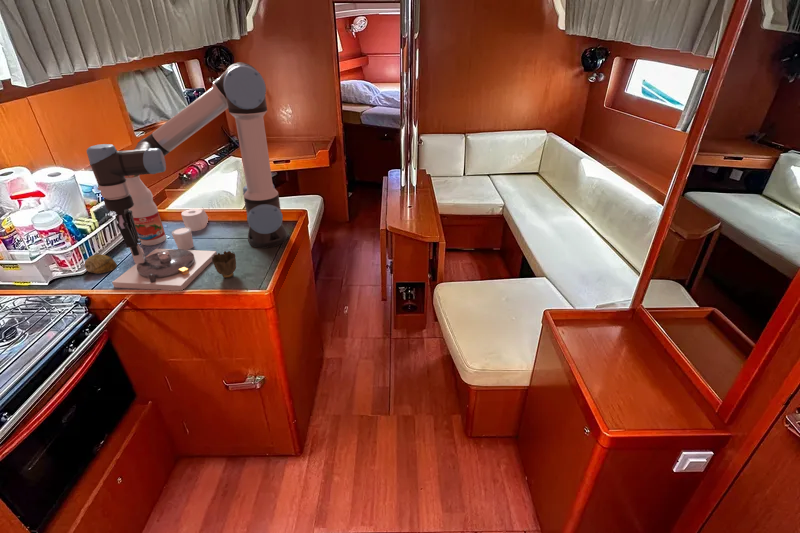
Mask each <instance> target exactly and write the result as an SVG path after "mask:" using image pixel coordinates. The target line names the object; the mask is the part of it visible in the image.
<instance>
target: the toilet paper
mask: <svg viewBox="0 0 800 533" xmlns="http://www.w3.org/2000/svg"><path fill="white" fill-rule="evenodd" d="M180 214H181V218H182V222H183V224H184V227H187V228H190V229H191V232H196V231H197V232H198V231H201V230H204V229H206V227H207V226H208V224H207V223H209V222H208V218H209V216H208V214H207V213H206V211H205V209H204V207H203V206H202V209H201V208H190V209H186V210H183V211H182V212H181V213H180Z"/></svg>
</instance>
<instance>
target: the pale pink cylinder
mask: <svg viewBox="0 0 800 533" xmlns="http://www.w3.org/2000/svg"><path fill="white" fill-rule="evenodd" d="M171 235H172V237H173V240H174V242H175V244H176V246H177V249H182V250H192V248H194V247H195V246H194V240H193V235H192V231H191V229H190V228H187V227H185V226H184V227H178V228H175V229H174V230H172V231H171Z"/></svg>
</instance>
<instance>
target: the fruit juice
mask: <svg viewBox="0 0 800 533" xmlns="http://www.w3.org/2000/svg"><path fill="white" fill-rule="evenodd" d="M140 176H141V175H132V176H125V179H126V181H127V184H128V187H129V190H130V193H129V194H130V195H131V197H132V200H133V203H134V206H133V207H131V208H130V209H129V210H131V211H132V215H133V219H134V223H135V226H136V230H137V234H138V237H139V239H138V240H141V243H140V245H143V246H147V247H149V246H156V245H159V244H162V243H164V242H165V241H166V239H167V235H166V231H165V229H164V226H163V223H162V220H161V217H160V212H159V210H158V206H157V204H156V203H155V202H154V200H153V199H154V197H153V196H154V195H153V193H152V191H151V189H150V188H148V187H147V186H146V184H144V182H143V180H141V178H140Z"/></svg>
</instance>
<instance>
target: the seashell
mask: <svg viewBox="0 0 800 533" xmlns="http://www.w3.org/2000/svg"><path fill="white" fill-rule="evenodd" d="M117 267H118V264H117V262H116V261H115V260H114V259H113V258H112V257H111V256H109V255H105V254H100V253H99V254H93V255H90V256H89V257H87V259H86V260H85V261H84V268H85V270H86V271H87V272H89V273H94V274H102V275H103V274H106V273H109V272H112V271H114V270H116V269H117Z"/></svg>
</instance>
